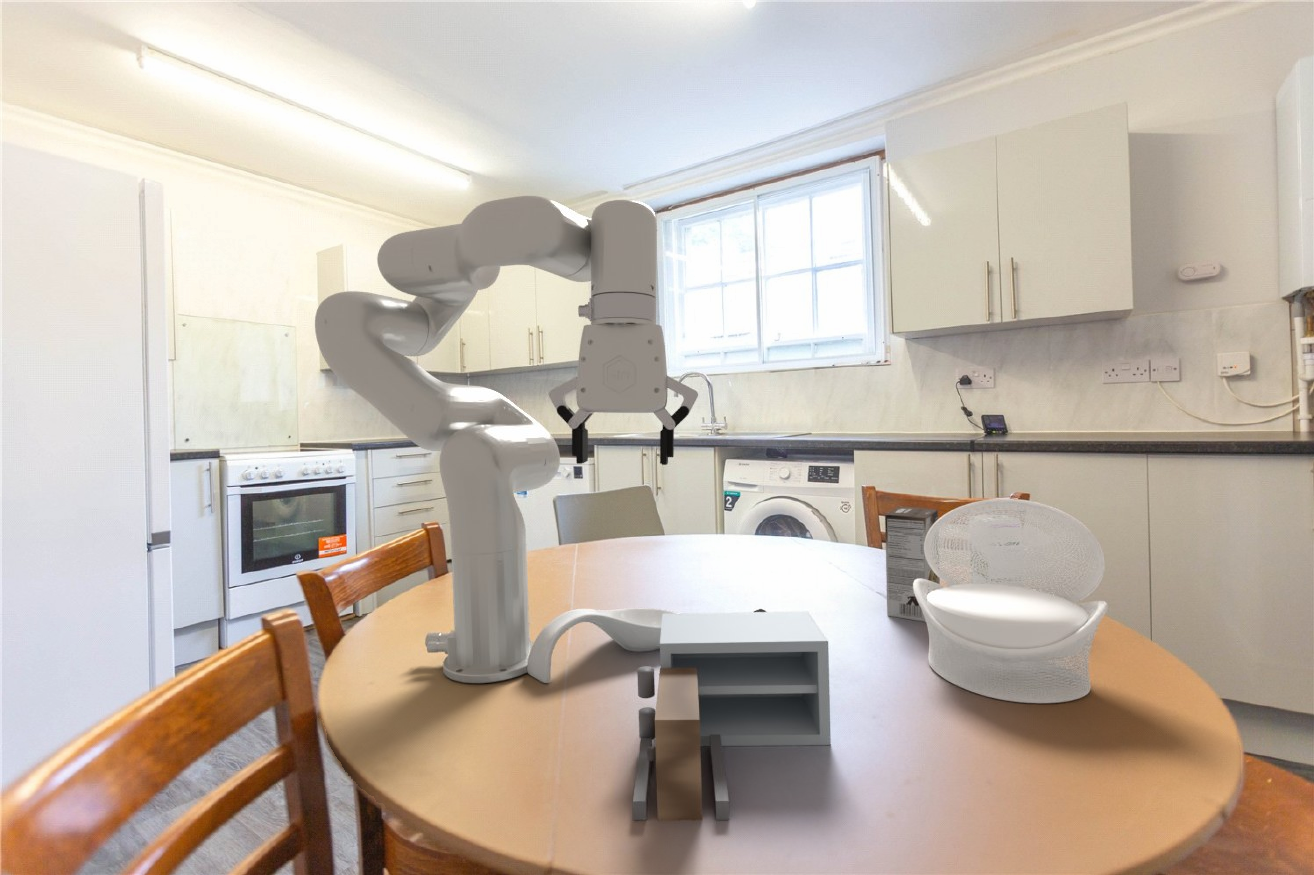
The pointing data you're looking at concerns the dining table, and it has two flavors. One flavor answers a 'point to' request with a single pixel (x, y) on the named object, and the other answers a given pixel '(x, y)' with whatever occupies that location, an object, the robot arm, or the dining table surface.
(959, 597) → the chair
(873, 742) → the dining table surface
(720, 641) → the cabinet
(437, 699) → the dining table surface
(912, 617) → the coffee box
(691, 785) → the door
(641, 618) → the spoon rest
